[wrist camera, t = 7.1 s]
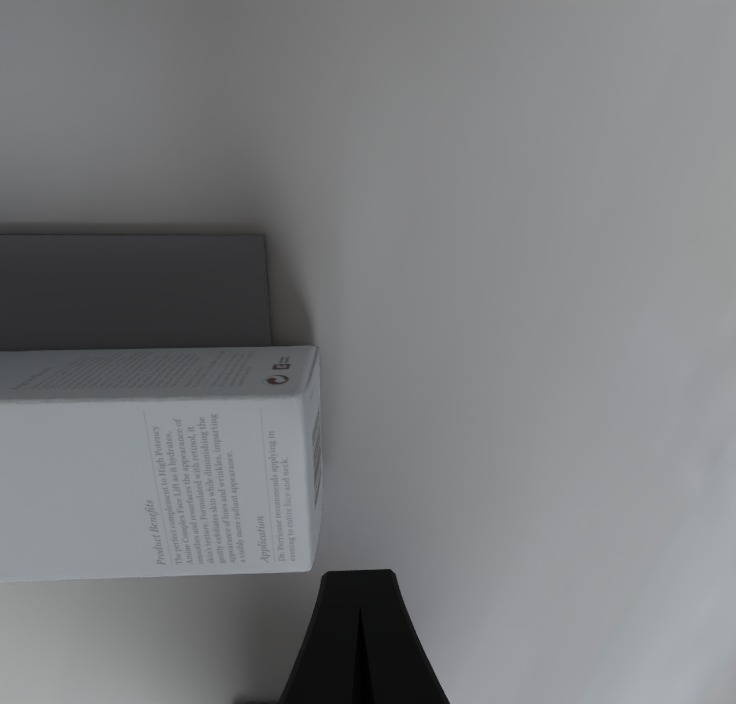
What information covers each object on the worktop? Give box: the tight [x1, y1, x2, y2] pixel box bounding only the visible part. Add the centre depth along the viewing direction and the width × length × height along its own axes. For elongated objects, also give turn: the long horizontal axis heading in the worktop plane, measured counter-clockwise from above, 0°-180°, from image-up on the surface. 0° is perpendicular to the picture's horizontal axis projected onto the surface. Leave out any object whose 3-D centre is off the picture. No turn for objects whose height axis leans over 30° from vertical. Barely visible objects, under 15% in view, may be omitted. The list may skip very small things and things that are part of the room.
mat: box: [0, 234, 272, 352], centre depth 16 cm, size 13×14×1 cm
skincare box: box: [0, 345, 324, 582], centre depth 14 cm, size 6×4×12 cm
